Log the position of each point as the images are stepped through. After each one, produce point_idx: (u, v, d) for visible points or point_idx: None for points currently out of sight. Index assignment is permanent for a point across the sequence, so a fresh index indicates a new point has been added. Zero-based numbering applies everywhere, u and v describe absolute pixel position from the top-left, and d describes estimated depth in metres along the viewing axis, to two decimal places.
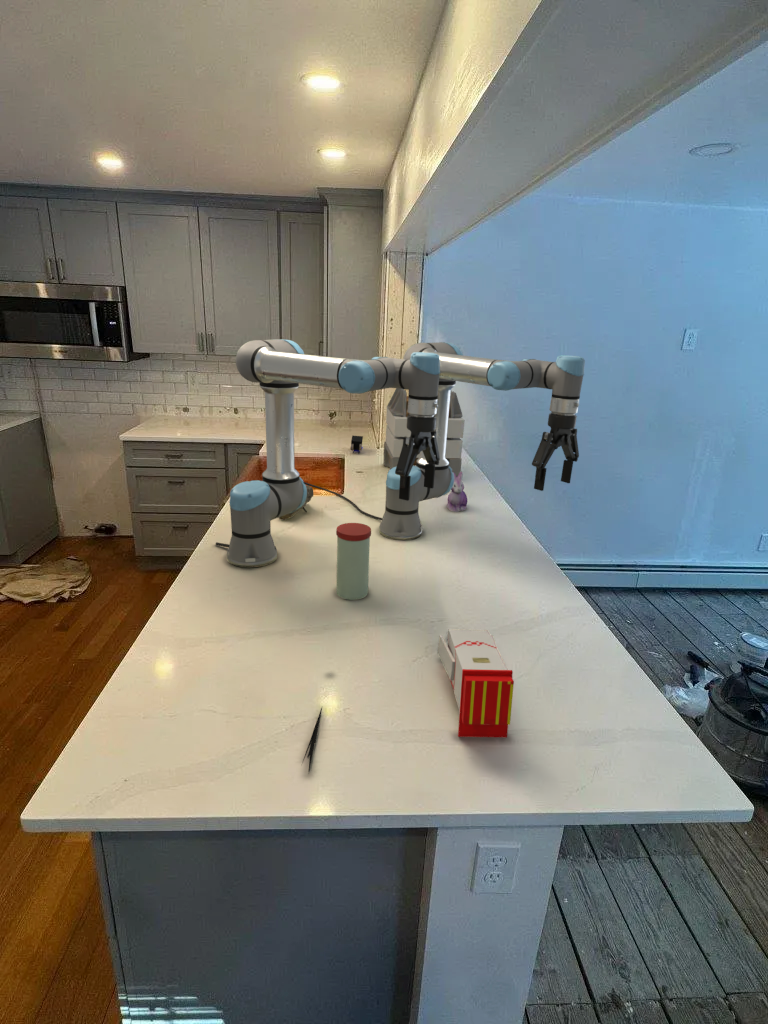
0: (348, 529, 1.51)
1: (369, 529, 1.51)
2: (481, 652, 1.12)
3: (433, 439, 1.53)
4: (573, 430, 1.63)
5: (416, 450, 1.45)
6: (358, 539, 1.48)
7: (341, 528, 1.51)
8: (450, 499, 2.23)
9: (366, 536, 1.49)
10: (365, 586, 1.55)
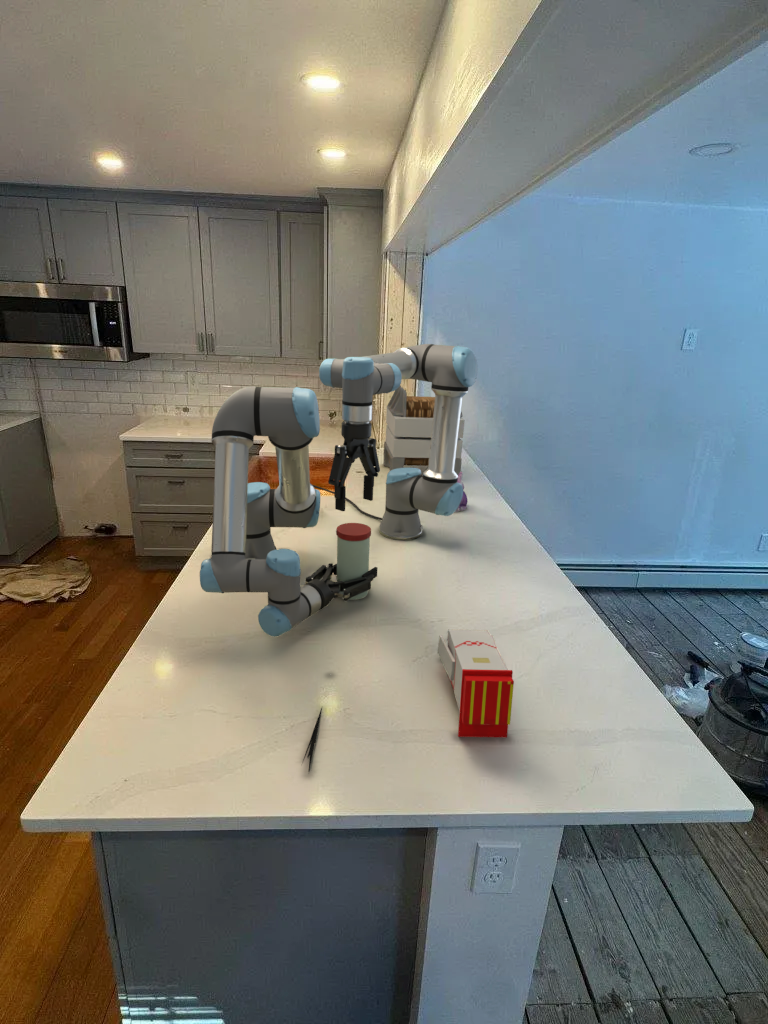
0: (348, 529, 1.51)
1: (369, 529, 1.51)
2: (481, 652, 1.12)
3: None
4: None
5: None
6: (358, 539, 1.48)
7: (341, 528, 1.51)
8: None
9: (366, 536, 1.49)
10: None
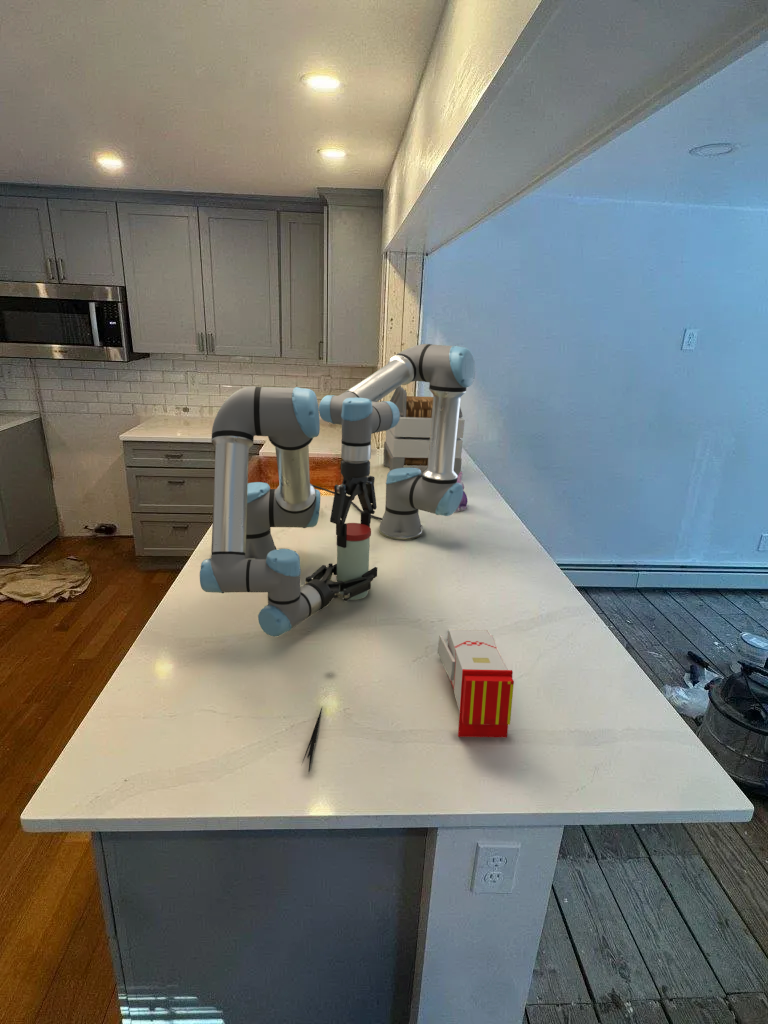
0: (348, 529, 1.51)
1: (369, 529, 1.51)
2: (481, 652, 1.12)
3: None
4: None
5: None
6: (358, 539, 1.48)
7: None
8: None
9: (366, 536, 1.49)
10: None
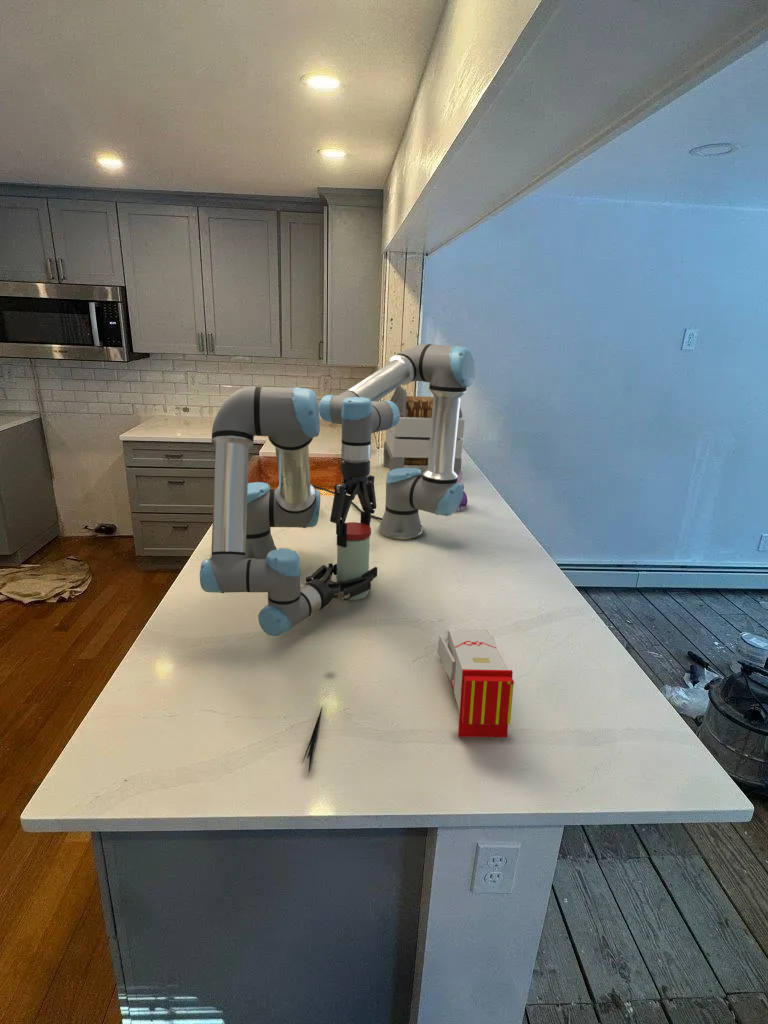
0: (358, 529, 1.50)
1: None
2: (481, 652, 1.12)
3: None
4: None
5: None
6: None
7: (361, 532, 1.49)
8: None
9: None
10: None
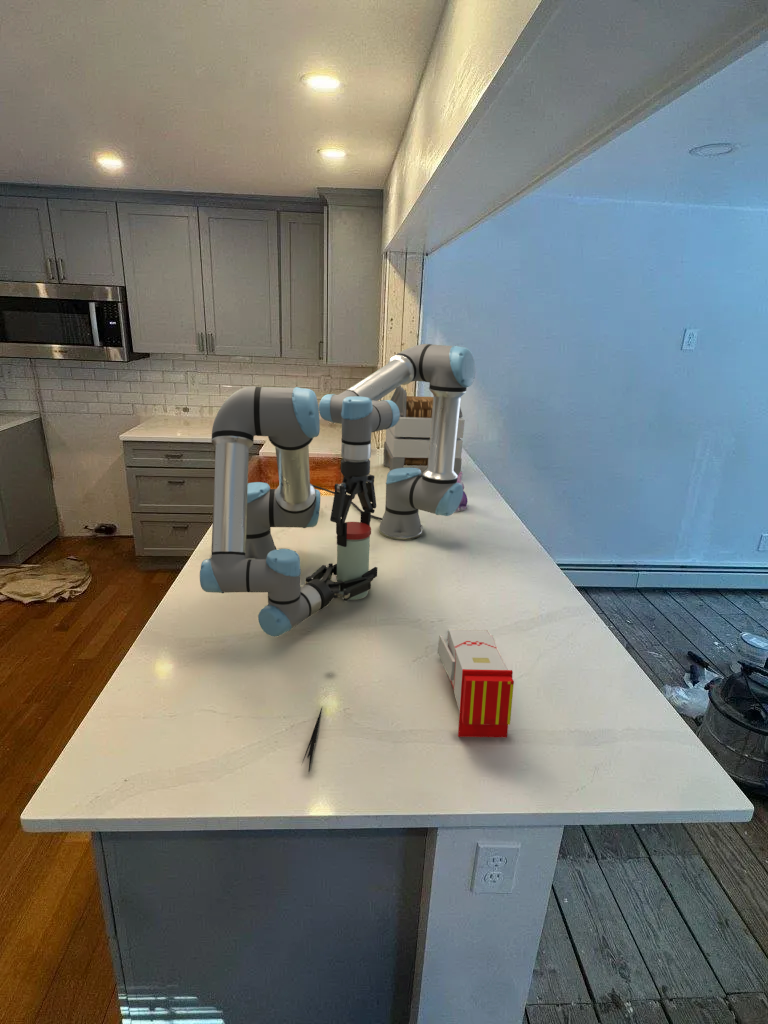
0: (353, 525, 1.53)
1: (348, 533, 1.47)
2: (481, 652, 1.12)
3: None
4: None
5: None
6: None
7: (357, 523, 1.54)
8: None
9: None
10: None
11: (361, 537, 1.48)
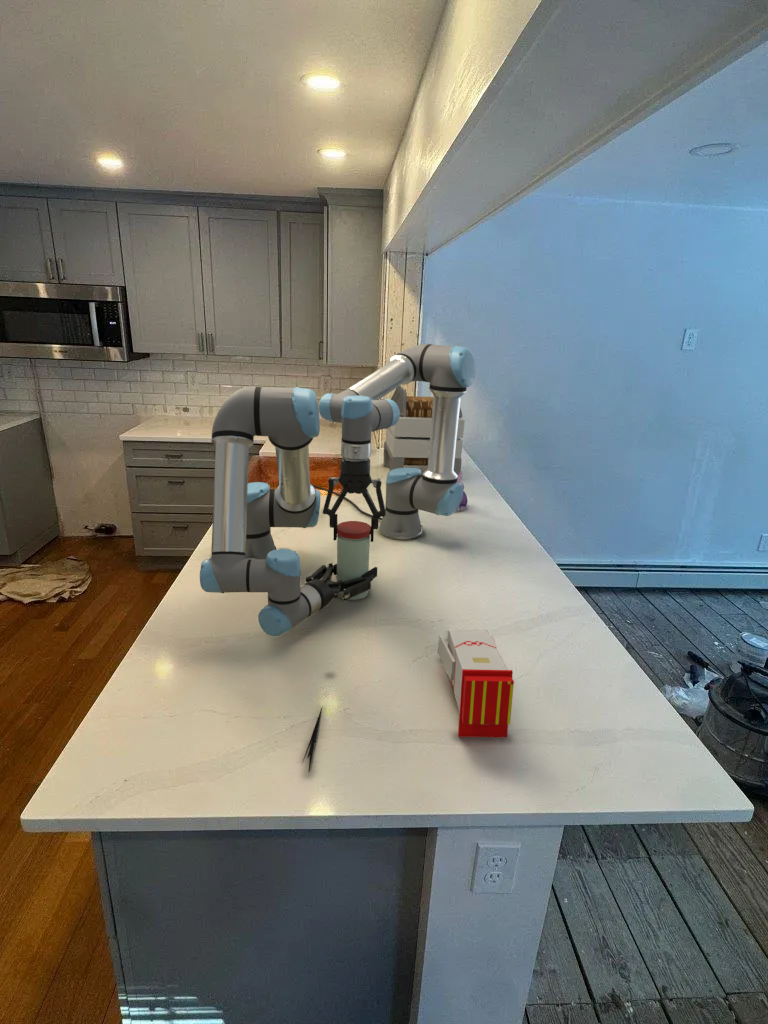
0: (349, 528, 1.50)
1: (369, 525, 1.52)
2: (481, 652, 1.12)
3: None
4: (377, 481, 1.46)
5: None
6: (363, 536, 1.48)
7: (342, 528, 1.50)
8: None
9: (369, 533, 1.50)
10: None
11: None
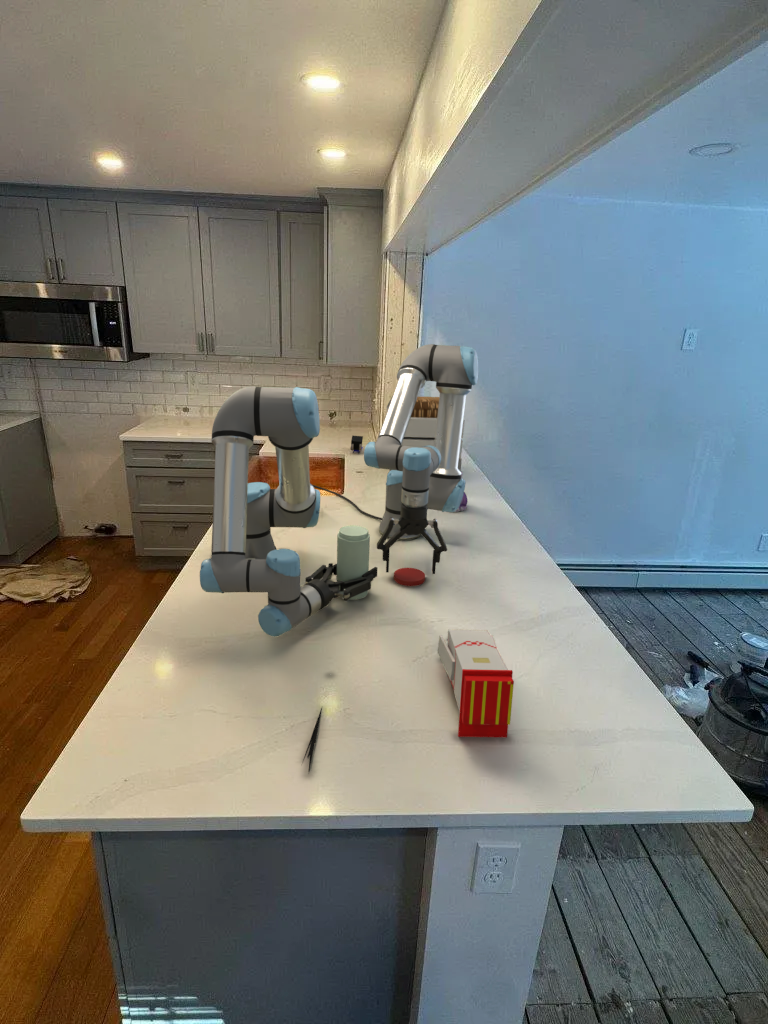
0: (405, 575, 1.65)
1: (422, 572, 1.68)
2: (481, 652, 1.12)
3: None
4: (433, 522, 1.60)
5: None
6: (419, 584, 1.63)
7: (399, 575, 1.65)
8: None
9: (424, 580, 1.65)
10: None
11: None
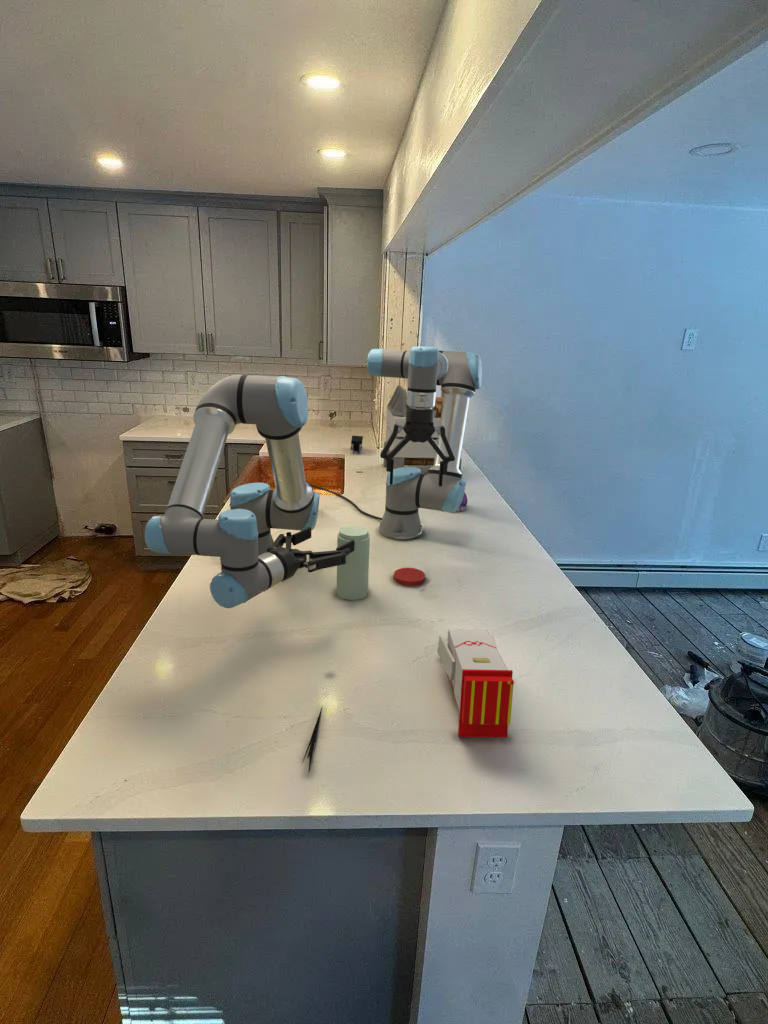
0: (405, 575, 1.65)
1: (422, 572, 1.68)
2: (481, 652, 1.12)
3: None
4: (440, 428, 1.51)
5: None
6: (419, 584, 1.63)
7: (399, 575, 1.65)
8: None
9: (424, 580, 1.65)
10: (365, 586, 1.55)
11: None
